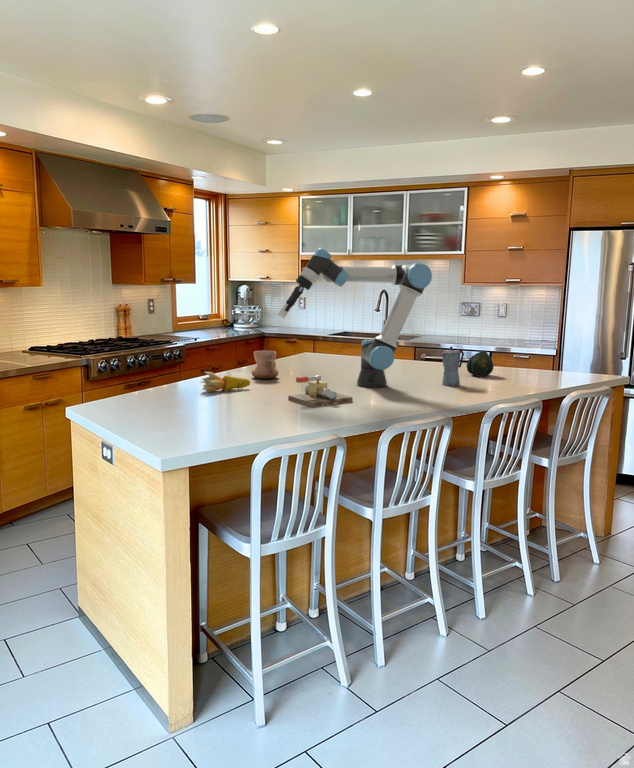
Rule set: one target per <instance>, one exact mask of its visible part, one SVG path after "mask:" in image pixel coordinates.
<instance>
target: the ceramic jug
mask: <svg viewBox="0 0 634 768" xmlns="http://www.w3.org/2000/svg"><path fill="white" fill-rule="evenodd" d="M276 357H277V352H276V351H275V350H255V351H253V358H254V361H255V363H256V366H255V367H254V368H253V369H252V370H251V376H252V377H254V378H256V379H260V380H271V379H274V378H276V377H278V375H279V370H278V368H277V364H276Z"/></svg>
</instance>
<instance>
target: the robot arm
mask: <svg viewBox="0 0 634 768" xmlns="http://www.w3.org/2000/svg"><path fill="white" fill-rule="evenodd" d="M331 258H332V255H331V254H330V253H329V252H328V251H327V250H326V249H324V248H322V247H319V248H317V249H316V251H315V252H314V253H313V254H312V256H311V257H310V259H309V261H308V262H307V263H306V265H305V267H302V271H301V272H300V274H299V275H298V276H297V278H296V279H295V282H296V283H297V284H298V285H297V286H295V287H294V289H293V291H292V292H291V295H290V296H289V298H288V299H287V300H286V302H285V303H284V305H283V306H282V307H281V309H280V310H279V312H278V313H277V315H278V316H280V317H281V318H283V319H285V318H286V317H287V315H288V314H289V312H290V311H291V309H292V308H293V306H295V304H296V303H297V301H298V300H299V298H300V297H301V295H303V293H304V290H307V291H309V290H310V289H311V288H312V286H313V283H316V281H317V279H319V276H320V274H322V277H323V279H324V280H325V281H326V282H327V283H334V284H335V285H336V286H338V287H340V288H341V287H343V286H344V285H345V284H346V283H389V284H390V283H391V285H393V286H399V287H398V288H399V292H398V295H397V297H396V298H395V301H394V303H393V305H392V307H391V310H390V311H389V313H388V315H387V319H386V320H385V323H384V325H383V327H382V329H381V331H380V334H379V335H378V336H376V337H374V339H363V340H362V341H361V346H360V371H359V373H358V378H357V380H356V385H357V386H358V385H359V386H360V387H364V388H384V387H387V385H388V381H387V377H386V374H385V371H384V370H387V369H389V368H390V367H391V366H392V365H393V364H394V361H395V353H396V350H397V348H398V347H397V341H398V339H399V336H400V335H401V332H402V331H403V327H404V326H405V323H406V322H407V319H408V317H409V315H410V313H411V310H412V308H413V306H414V304H415V303H416V300H417V299H418V297H420V296H422V295H423V292H424V290H425V289H426V288H427V287H428V286H429V285H430V284H431V282H432V278H433V275H432V274H433V273H432V270H431V269H430V267H429V266H428V265H427V264H425V263H422V262H415V263H414V262H411V263H406V264H397V265H396V264H393V265H392V266H389V267H388V266H339V264H336V263H335V262H333V261H332V259H331ZM359 386H358V387H359Z"/></svg>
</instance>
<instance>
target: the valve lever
mask: <svg viewBox="0 0 634 768" xmlns="http://www.w3.org/2000/svg"><path fill="white" fill-rule="evenodd" d="M313 381H322V376H321V375H320V374H316V375H314V376H307V375H305V376H304V375H303V376H296V377H295V382H296V383H297V384H300V383H308V382H313Z"/></svg>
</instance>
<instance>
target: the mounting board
mask: <svg viewBox="0 0 634 768" xmlns="http://www.w3.org/2000/svg"><path fill="white" fill-rule="evenodd" d="M336 394H337V397H336V399H335V400H331V399H327V398H322V397H313V396H309V395H308V394H306V393H298V394H297V393H296V394H290V395H289V394H288V396H287V399H288V401H290V400H291V401H290V402H293V401H294V403H297V404H300V403H301V405H303V404H304V405H303V406H306V405H308V406H307V407H310V406H311V407H310V408H315V407H314V406H317V407H322V406H321V405H324V406H328V405H327V404H332V405H336V404H335V403H339V404H344V402H346V403H352V402H353V397H352V396H349V395H345V394H341V393H338V392H336Z"/></svg>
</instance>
